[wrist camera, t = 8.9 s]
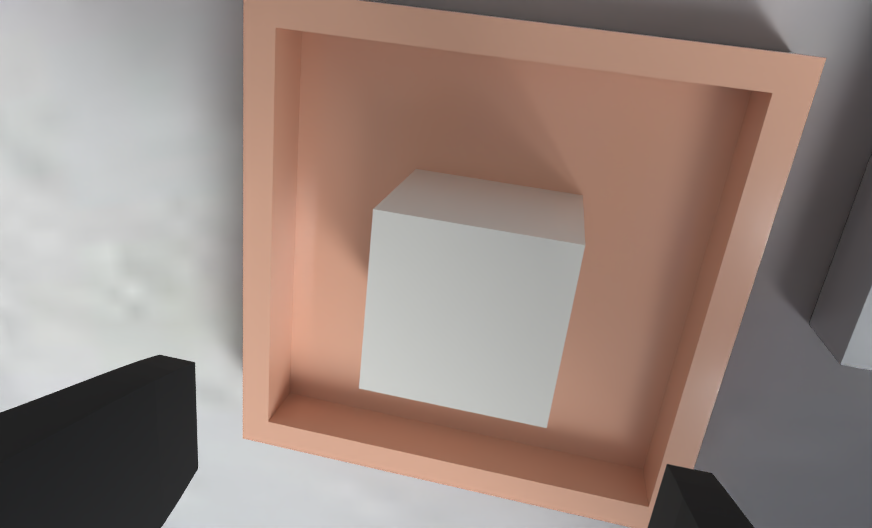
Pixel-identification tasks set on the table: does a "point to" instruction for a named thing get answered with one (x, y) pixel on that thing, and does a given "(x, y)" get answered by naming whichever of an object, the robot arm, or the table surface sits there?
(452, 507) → the table surface
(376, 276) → the white cube
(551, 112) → the terracotta tray
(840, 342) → the grey tray
